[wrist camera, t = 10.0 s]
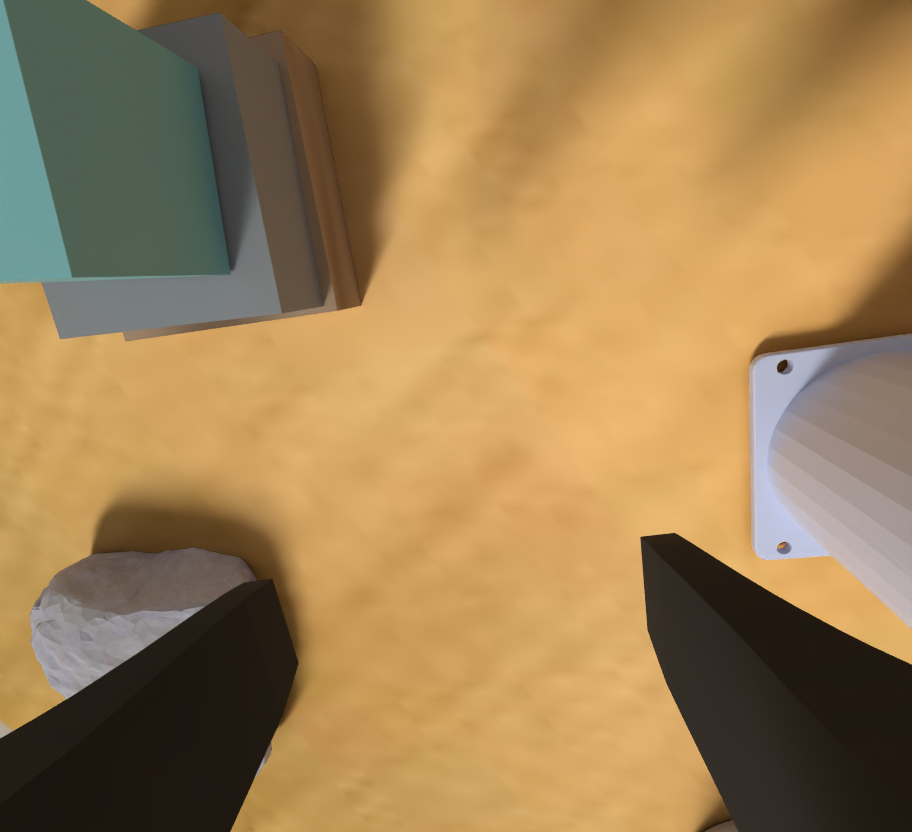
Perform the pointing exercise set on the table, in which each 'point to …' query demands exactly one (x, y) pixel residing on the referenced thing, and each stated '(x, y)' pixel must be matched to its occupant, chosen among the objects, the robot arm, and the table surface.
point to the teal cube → (101, 152)
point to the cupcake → (724, 827)
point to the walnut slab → (316, 190)
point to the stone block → (123, 609)
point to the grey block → (220, 202)
